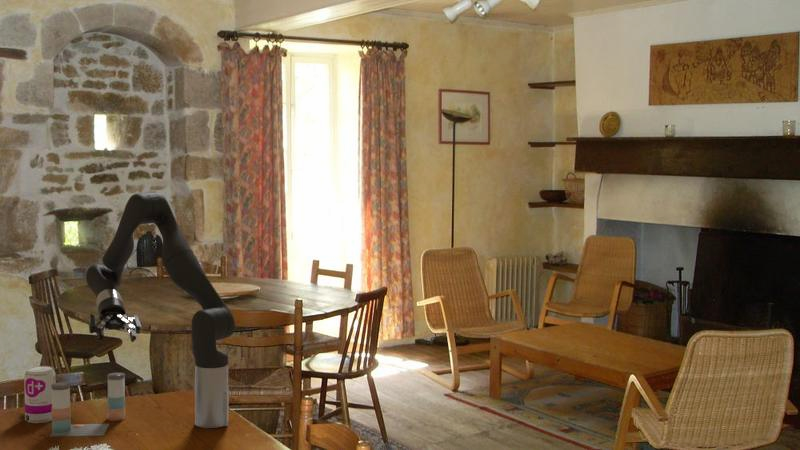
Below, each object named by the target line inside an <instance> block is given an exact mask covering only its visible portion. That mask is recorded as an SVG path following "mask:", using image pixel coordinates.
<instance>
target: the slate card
mask: <svg viewBox="0 0 800 450" xmlns="http://www.w3.org/2000/svg"><path fill="white" fill-rule="evenodd" d="M109 426H110V423H84V424H83V423H81V424H79V423H75V424H71V430H70V433H69V434H66V435H53V434H52V432H51V433H50V434H49V435H48V436H49V437H52V438H53V437H84V436H85V437H87V436H88V437H89V436H90V437H91V436H93V437H94V436H99V437H100V436H104V435H105V433H106V432H107V429H108V428H109Z"/></svg>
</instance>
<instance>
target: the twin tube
mask: <svg viewBox="0 0 800 450" xmlns="http://www.w3.org/2000/svg"><path fill="white" fill-rule="evenodd" d="M51 388H52V420H51V433H52V434H53V435H66V434H69V433H70V430H71V423H72V422H71V421H72V418H71V410H72V409H71V406H72V405H71V383H70V382H63V381H60V382H59V381H58V383H54V384H52V385H51Z"/></svg>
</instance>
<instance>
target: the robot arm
mask: <svg viewBox="0 0 800 450" xmlns="http://www.w3.org/2000/svg"><path fill="white" fill-rule="evenodd" d="M121 215H122V216H121V217H120V221H119V223H118V227H117V229H116V232H115V235H114V237H113V239H112V241H111V242H110V244H109V245H108V247H107V249H106V250H105V252H104V254H103V255H102V259H101V260H102V264H99V263H94V264H91V265H90V266H89V267H88V268H87V270H86V273H85V279H86V284H87V286H88V288H89V289H90V290H91V292H92V293H93V294H94V295H95V298H96V309H97V313H98V316H95V315H94V314H93V313H91V314H89V319H88V331H89V334H94V333H95V334H96V337H97V340H98V341H100V342H101V343H102V342H104V339H105V333H104V332H106V331H107V330H121V331H122V332H123V333H127V334H129V339H130V342H131V343H134V342H135V341H136V340H137V337H138V336H137V334H138V335H140V334H141V329H142V324H141V321H140V319H139V316H138V315H136V314H135V315H133V317H129V316H127V312H126V308H125V304H124V300H123V298H122V295H121V291H120V289H119V286H120V285H121V283H122V276H123V271H124V270H125V269H124V268H125V266H126V264H127V263H128V261H129V259H130V258H131V256H132V254H133V253H134V249H135V241H134V234H135V233H134V232H135V231H136V230H137V228H139V226H140V225H147V224H154V225H155V226H156V227H157V229H158V232H160V235H161V238H162V246H161V247H162V248H161V262H162V265H163V267H164V269H165V271H166V273H167V275H168V276H169V278H170V280H171V281H172V282H173V283H174V285H176V286H177V287H178V288H179V289H181V290H182V291H183V292H185V293H186V294H188V295H189V296H190V297H192V298H193V299H194V300H195V301H196V302H197V303H198V304H199V305H200V307H201V309H200V310H198V311H196V312H195V313H194V315H193V316H192V319H191V330H190V331H191V346H192V347H191V348H192V355H193V358H194V424H195V426H196V427H199V428H202V429H217V428H221V427H228V425H229V396H230V395H229V394H230V393H229V391H230V389H229V356H228V354H227V353H226V352H225V351H221V350H217V341H219V340H224V339H228V338H230V337H231V336H232V335H234V333H235V330H236V322H235V318H234V316H233V314H232V312H231V310H230V309H229V307H228V306H227V304H226V303H225V301H224V300H223V299H222V297H221V296H220V295H219V293H218V292H217V290H216V289H215V288H214V286H213V284H212V282H211V281H210V279H209V278H208V276H207V274H206V273H205V271H204V270H203V268H202V266H201V264H200V262H199V260H198V258H197V256H196V255H195V253H194V251H193V249H192V248H191V246H190V245H189V243H188V242H187V239H186V237H185V236H184V233H183V231H182V230H181V228H180V226H179V224H178V221H177V220H176V217H175V215H174V212H173V210H172V209H171V206H170V204H169V201H168V200H167V199H166V197H165V196H164V195H163V194H162V193H160V192H156V191H155V192H138V193H134V194H132V195H131V196H130V197H129V199H127V202H126V205H125V206H124V209H123V211H122V214H121ZM97 322H98V323H99V324H98V325H97V326H96V324H97Z"/></svg>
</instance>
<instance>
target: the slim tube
mask: <svg viewBox="0 0 800 450" xmlns="http://www.w3.org/2000/svg"><path fill="white" fill-rule="evenodd" d="M125 379H126V374H125V373H124V372H111V373H108V374H107V420H108V421H111V422H113V421H114V422H118V421H123V420H125V419H126V394H125V393H126V392H125V389H126V387H125V381H126V380H125Z"/></svg>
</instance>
